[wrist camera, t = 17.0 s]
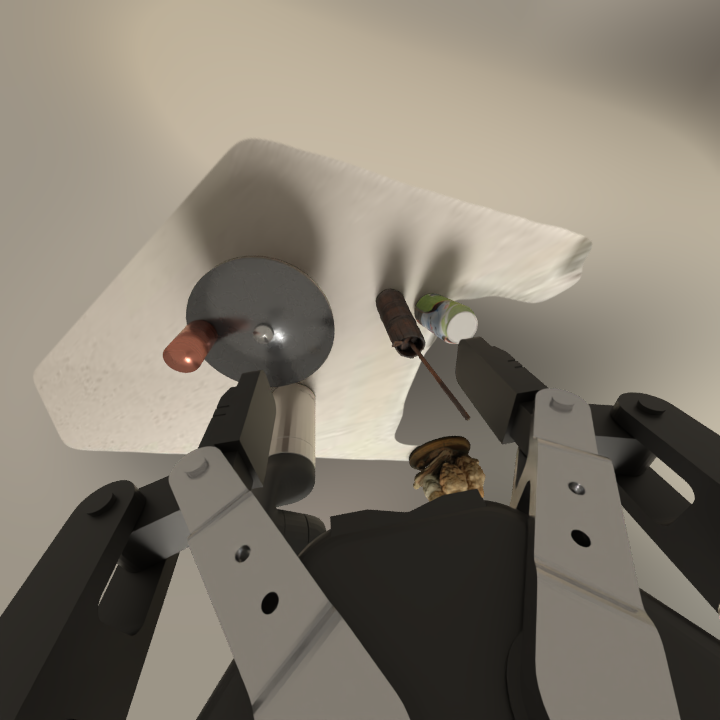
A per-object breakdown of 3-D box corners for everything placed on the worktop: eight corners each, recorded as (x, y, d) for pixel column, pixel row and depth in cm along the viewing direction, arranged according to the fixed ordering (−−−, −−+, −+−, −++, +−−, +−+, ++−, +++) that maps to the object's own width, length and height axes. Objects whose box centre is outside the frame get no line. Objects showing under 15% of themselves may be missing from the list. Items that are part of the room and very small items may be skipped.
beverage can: (406, 317, 50) (429, 349, 40) (425, 279, 47) (455, 304, 37) (434, 327, 52) (462, 360, 42) (455, 291, 49) (490, 318, 39)
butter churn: (347, 311, 48) (377, 428, 25) (378, 264, 45) (448, 349, 21) (387, 334, 52) (446, 455, 28) (419, 293, 48) (517, 393, 25)
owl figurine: (409, 474, 77) (431, 539, 63) (400, 449, 71) (422, 515, 57) (470, 455, 76) (506, 516, 62) (467, 428, 70) (506, 489, 56)
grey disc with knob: (332, 256, 32) (336, 273, 26) (334, 378, 42) (337, 411, 36) (167, 254, 30) (128, 272, 24) (209, 384, 40) (189, 421, 33)
